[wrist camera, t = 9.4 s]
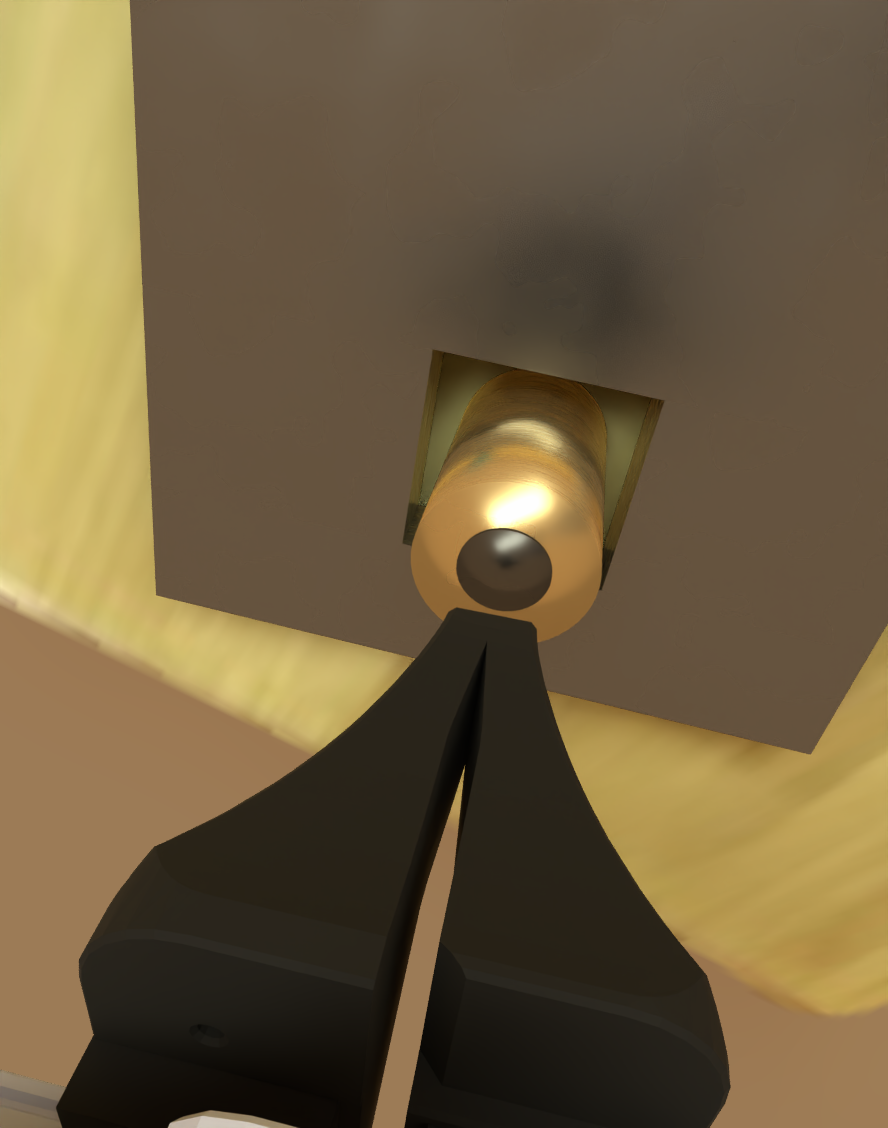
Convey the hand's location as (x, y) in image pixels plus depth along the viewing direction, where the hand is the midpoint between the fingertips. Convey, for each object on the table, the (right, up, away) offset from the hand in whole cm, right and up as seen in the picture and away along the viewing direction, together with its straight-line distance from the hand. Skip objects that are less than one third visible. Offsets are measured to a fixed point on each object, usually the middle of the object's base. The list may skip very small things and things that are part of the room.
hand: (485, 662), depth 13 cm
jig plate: (+2, +6, +6) cm, 9 cm away
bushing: (+2, +5, +7) cm, 9 cm away
